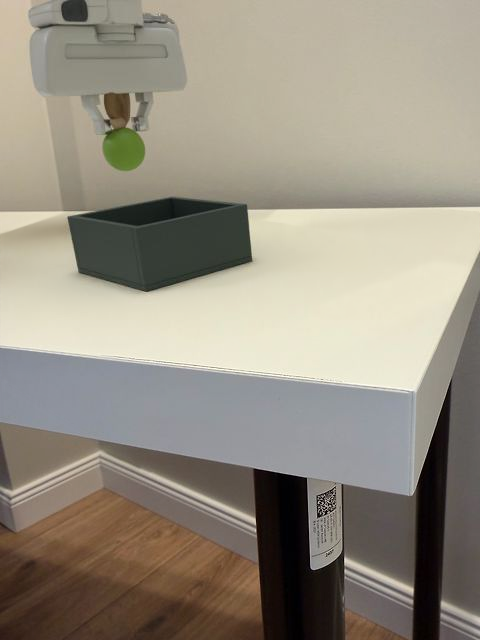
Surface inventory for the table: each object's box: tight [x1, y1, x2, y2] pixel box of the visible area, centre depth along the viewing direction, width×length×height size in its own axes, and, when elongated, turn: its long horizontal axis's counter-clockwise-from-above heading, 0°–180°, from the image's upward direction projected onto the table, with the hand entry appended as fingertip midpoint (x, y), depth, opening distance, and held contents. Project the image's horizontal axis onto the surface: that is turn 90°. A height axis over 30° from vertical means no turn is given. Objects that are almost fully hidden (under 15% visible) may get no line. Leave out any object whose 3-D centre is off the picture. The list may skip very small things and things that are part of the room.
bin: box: [66, 196, 253, 292], centre depth 64 cm, size 12×12×6 cm
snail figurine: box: [102, 92, 146, 172], centre depth 85 cm, size 5×6×12 cm
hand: (122, 132), depth 85 cm, fingers closed on snail figurine, 4 cm apart
